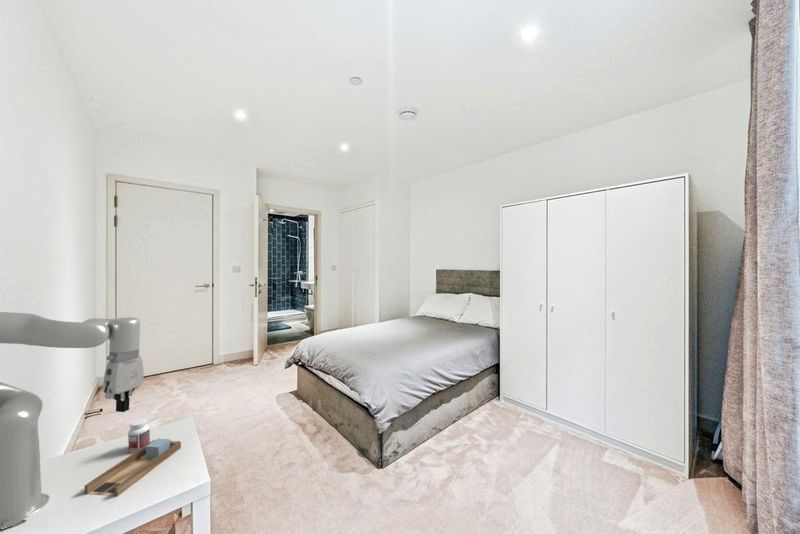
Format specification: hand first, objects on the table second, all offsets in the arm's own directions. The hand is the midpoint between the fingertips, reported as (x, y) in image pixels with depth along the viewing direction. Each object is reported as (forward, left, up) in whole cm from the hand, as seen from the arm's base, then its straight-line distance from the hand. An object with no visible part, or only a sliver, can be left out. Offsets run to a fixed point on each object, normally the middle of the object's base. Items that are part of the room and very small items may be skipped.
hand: (122, 410), depth 104 cm
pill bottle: (-7, +13, -22) cm, 27 cm away
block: (+3, +10, -21) cm, 23 cm away
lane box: (+3, +2, -22) cm, 22 cm away
